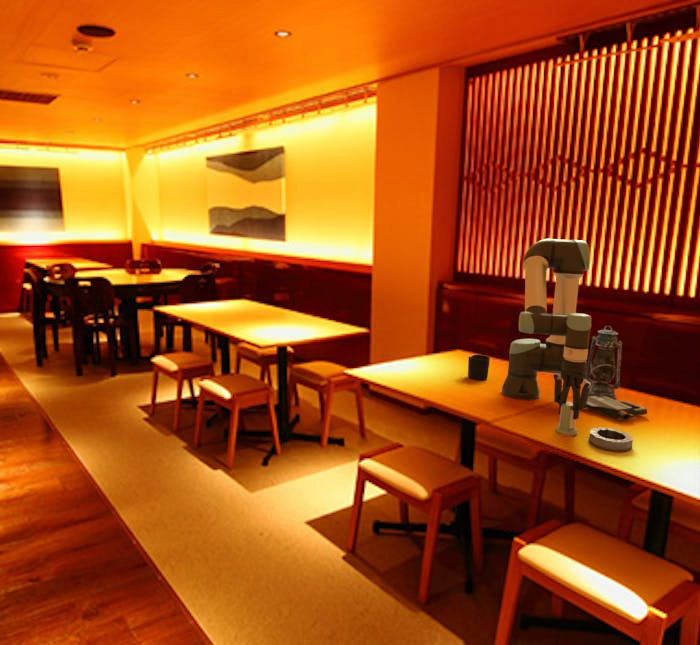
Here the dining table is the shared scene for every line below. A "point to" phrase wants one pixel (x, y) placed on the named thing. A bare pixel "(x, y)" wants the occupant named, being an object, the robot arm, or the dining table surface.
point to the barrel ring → (610, 440)
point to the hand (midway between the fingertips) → (567, 425)
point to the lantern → (604, 364)
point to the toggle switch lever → (566, 421)
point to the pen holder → (478, 367)
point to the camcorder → (615, 408)
